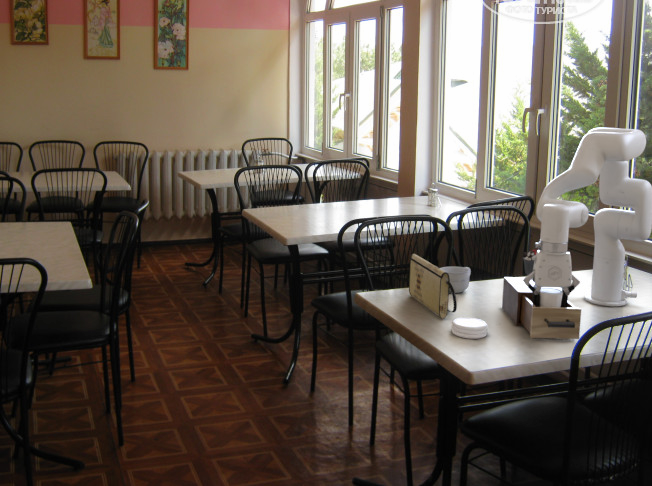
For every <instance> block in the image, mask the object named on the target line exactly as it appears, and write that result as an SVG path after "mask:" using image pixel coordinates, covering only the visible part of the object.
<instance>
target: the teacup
mask: <svg viewBox="0 0 652 486" xmlns="http://www.w3.org/2000/svg"><path fill="white" fill-rule="evenodd" d="M439 268H440V269H441V270H443V271H445V272H447V273H448V274H449V278H450V283H451V285H452V286H453V289H454V292H455V294H458V293H464V292H465V290H467V289H468V287H469V285H470V276H471V274H472V273H471V272H472V271H471V268H470V267H468V266H464V267H463V266H443V267H439ZM450 293H451V290H450V291H449V294H450ZM451 294H452V293H451Z"/></svg>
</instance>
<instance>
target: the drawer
mask: <svg viewBox="0 0 652 486" xmlns="http://www.w3.org/2000/svg"><path fill="white" fill-rule="evenodd" d="M532 298H533V295H521V301H520V316H519V321H520V322H521V323H522V324H523V325H524V326H523V327H524V329H526V330H527V332H529V338H531V339H559V340H560V339H562V340H563V339H564V340H579V339H580V333H581V319H582V318H581V317H582V308H581V307H576V306H575V305H574V304H573V303H572V302H570V301H569V300H568V301H567V305H566V308H565V307H536V306H535V305H534V304H533V303H532Z"/></svg>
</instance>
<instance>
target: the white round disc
mask: <svg viewBox="0 0 652 486" xmlns="http://www.w3.org/2000/svg"><path fill="white" fill-rule="evenodd" d="M451 333H452V335H454V336H456V337H458V338H462V339H469V340H477V339H478V340H479V339H482V338H485V337H486V336H487V335H488V323H487V322H486V321H485V320H482V319H480V318H476V317H468V316H467V317H464V316H463V317H456V318H454V319H453V320H452V321H451Z"/></svg>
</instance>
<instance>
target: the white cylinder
mask: <svg viewBox="0 0 652 486" xmlns="http://www.w3.org/2000/svg"><path fill="white" fill-rule="evenodd" d="M539 295H540V303H539V307H561V301H562V295H563V291H561V290H559V289H555V288H541V290H540V291H539Z"/></svg>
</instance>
